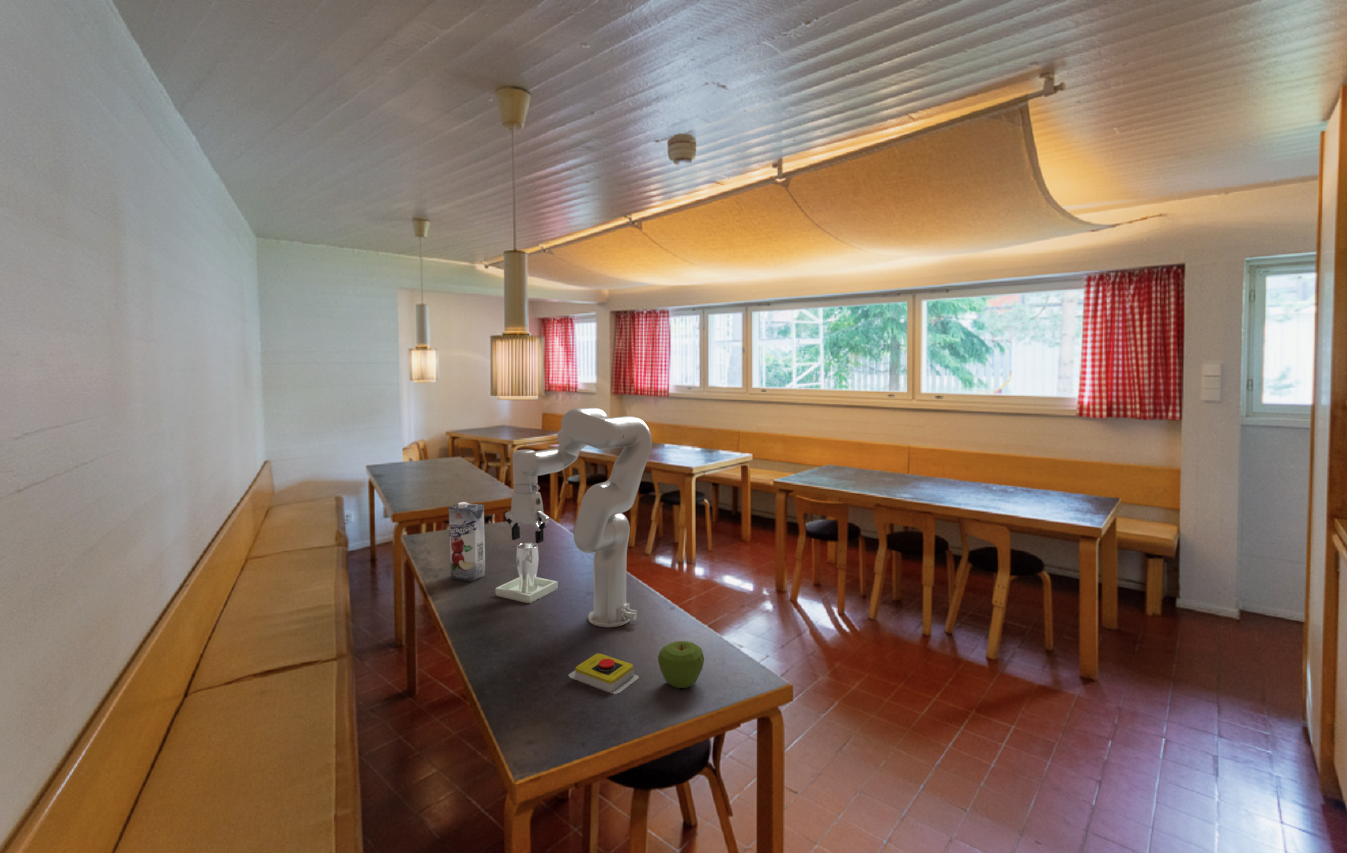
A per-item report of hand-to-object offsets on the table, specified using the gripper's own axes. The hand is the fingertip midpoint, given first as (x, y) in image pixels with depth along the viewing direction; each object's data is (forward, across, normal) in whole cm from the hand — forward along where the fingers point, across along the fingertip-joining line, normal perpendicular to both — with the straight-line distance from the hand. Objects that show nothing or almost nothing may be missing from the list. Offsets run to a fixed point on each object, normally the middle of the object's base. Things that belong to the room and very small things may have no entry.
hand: (527, 540), depth 189 cm
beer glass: (+17, +1, 0) cm, 17 cm away
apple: (+20, -68, +28) cm, 76 cm away
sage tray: (+17, +1, 0) cm, 17 cm away
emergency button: (+20, -50, +33) cm, 63 cm away
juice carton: (+17, +28, -1) cm, 33 cm away
